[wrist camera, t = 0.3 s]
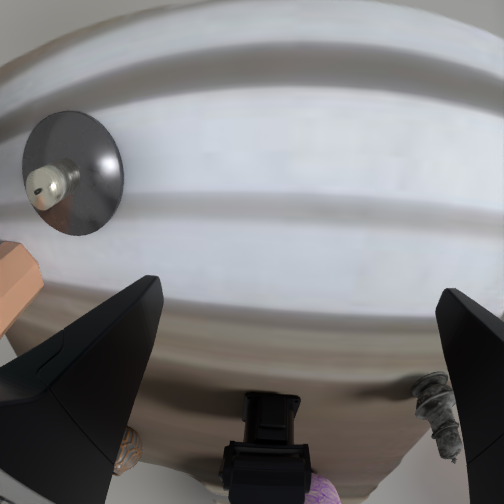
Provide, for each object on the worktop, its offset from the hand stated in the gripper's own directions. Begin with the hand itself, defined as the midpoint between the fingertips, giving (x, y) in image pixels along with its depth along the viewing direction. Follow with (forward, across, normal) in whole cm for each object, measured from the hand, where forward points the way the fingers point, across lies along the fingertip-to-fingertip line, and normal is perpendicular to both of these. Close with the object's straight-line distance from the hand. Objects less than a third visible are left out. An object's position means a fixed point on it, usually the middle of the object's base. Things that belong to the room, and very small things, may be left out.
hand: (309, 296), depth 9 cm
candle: (+14, +18, 0) cm, 23 cm away
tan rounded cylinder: (+14, +29, +11) cm, 34 cm away
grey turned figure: (+14, -20, +25) cm, 35 cm away
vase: (+13, +23, +42) cm, 50 cm away
